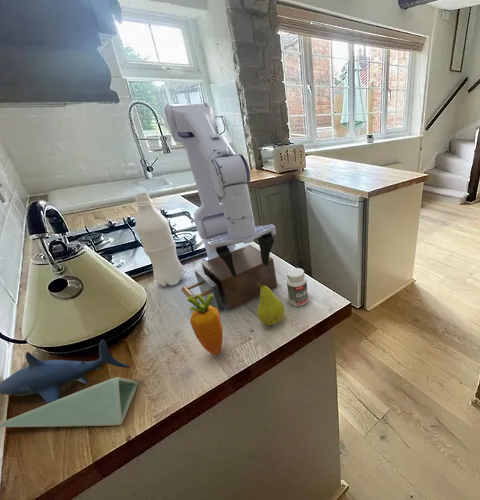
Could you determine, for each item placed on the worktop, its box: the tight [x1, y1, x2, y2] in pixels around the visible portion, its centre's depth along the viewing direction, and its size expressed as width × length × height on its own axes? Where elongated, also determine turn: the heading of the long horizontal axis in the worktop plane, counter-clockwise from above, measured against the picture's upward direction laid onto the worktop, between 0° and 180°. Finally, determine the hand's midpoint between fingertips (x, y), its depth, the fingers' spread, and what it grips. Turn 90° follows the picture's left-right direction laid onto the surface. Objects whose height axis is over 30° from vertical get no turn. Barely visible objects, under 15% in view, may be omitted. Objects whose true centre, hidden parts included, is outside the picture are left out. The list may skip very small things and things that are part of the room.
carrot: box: [186, 293, 224, 357], centre depth 56 cm, size 5×5×15 cm
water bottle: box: [133, 192, 185, 287], centre depth 77 cm, size 7×7×25 cm
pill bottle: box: [286, 267, 309, 307], centre depth 72 cm, size 5×5×8 cm
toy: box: [0, 338, 130, 404], centre depth 51 cm, size 10×22×10 cm, turn 96°
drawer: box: [180, 268, 226, 311], centre depth 74 cm, size 17×10×7 cm, turn 136°
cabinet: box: [201, 244, 278, 311], centre depth 77 cm, size 14×12×9 cm
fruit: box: [256, 282, 285, 326], centre depth 65 cm, size 6×6×12 cm
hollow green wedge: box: [0, 376, 139, 428], centre depth 46 cm, size 8×6×18 cm
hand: (249, 268), depth 69 cm, fingers open, 7 cm apart
